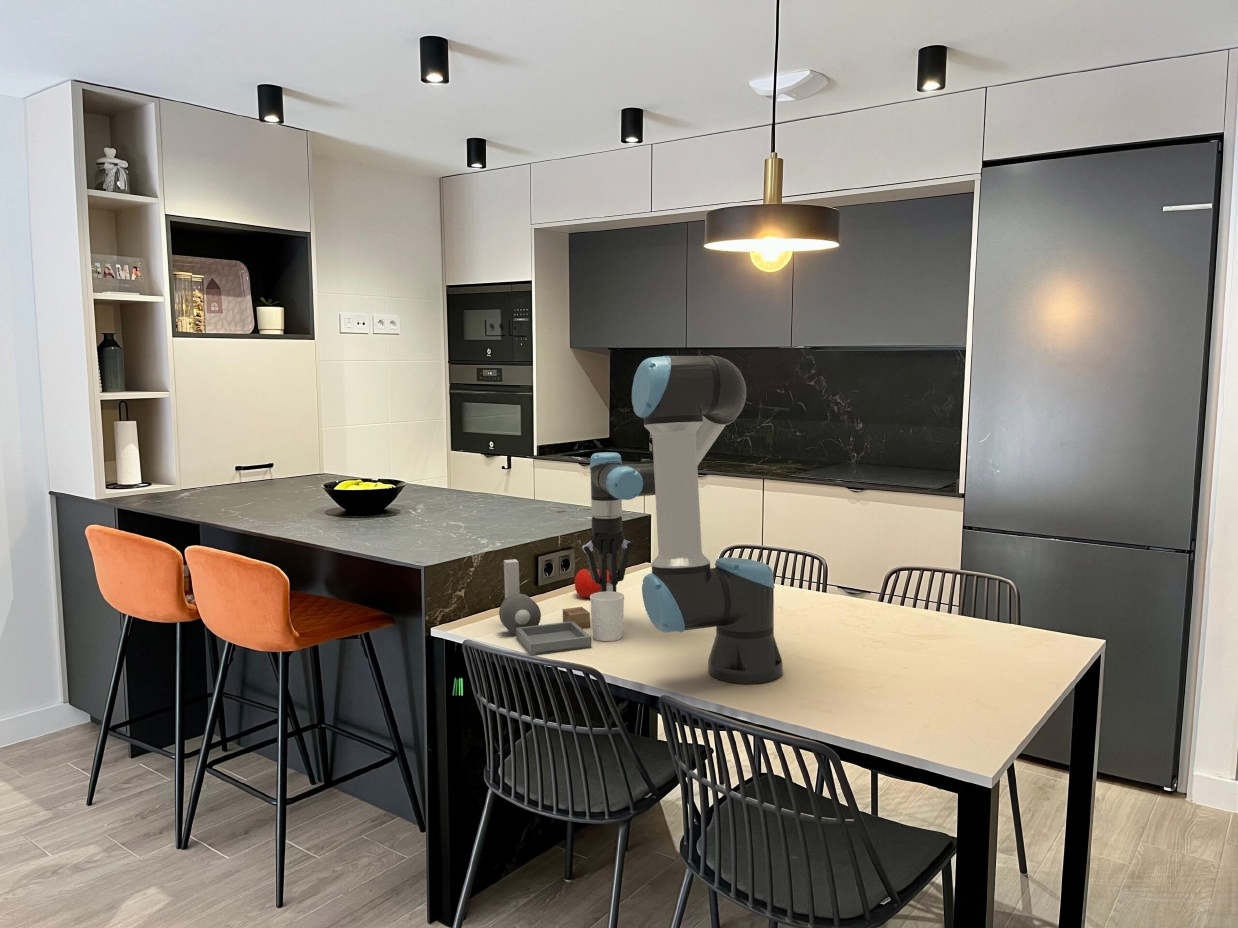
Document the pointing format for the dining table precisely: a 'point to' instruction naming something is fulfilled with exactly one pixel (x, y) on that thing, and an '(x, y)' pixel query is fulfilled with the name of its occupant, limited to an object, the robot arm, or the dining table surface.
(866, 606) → the dining table surface
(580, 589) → the tomato
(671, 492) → the robot arm
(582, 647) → the tray
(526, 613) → the trolley wheel
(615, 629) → the white cup
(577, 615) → the brown wooden block
